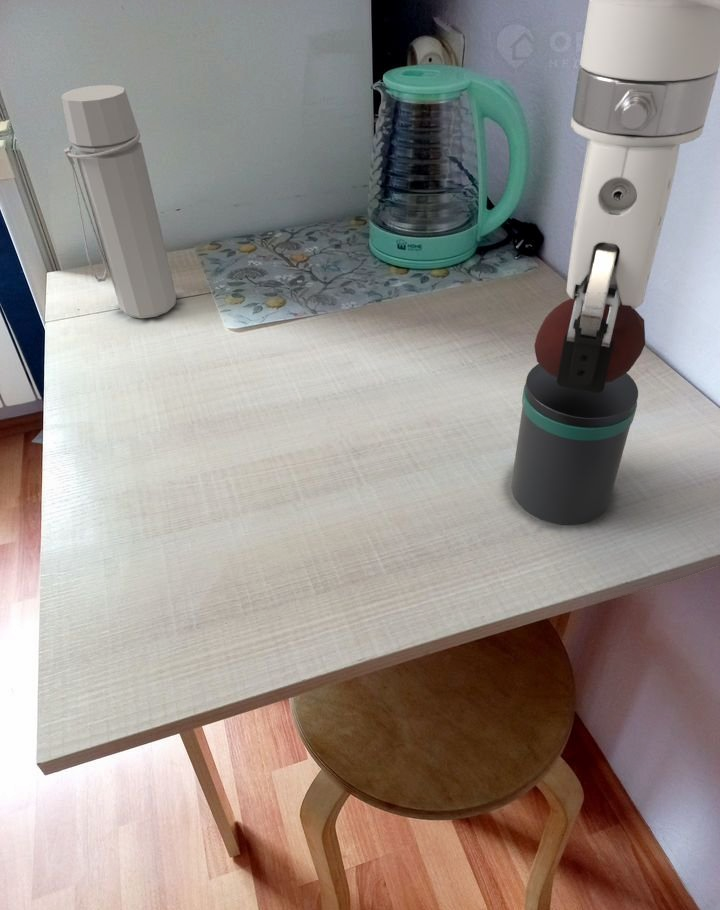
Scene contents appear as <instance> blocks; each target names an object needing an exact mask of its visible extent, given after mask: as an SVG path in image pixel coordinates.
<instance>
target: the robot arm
mask: <svg viewBox="0 0 720 910" xmlns="http://www.w3.org/2000/svg"><path fill="white" fill-rule="evenodd" d="M580 52H581V53H580V61H579V66H578V67H579V68H578V73H577V74H578V75H577V80H576V86H575V93H574V101H573V106H572V107H573V108H572V114H571V120H570V129H572V131H573V132H574V133H575V134H577V135H579V136H581V138H585V139H587V144H586V150H585V155H584V161H583V168H582V173H581V178H580V179H581V180H580V184H579V185H580V186H579V191H578V198H577V205H576V211H575V218H574V225H573V230H572V231H573V233H572V239H571V245H570V246H571V247H570V254H569V263H568V270H567V271H568V273H567V281H566V293H567V295H568V297H569V298H570V299H571V298H572V299H573V300H574V299H575V303H574V308H573V312H572V317H571V321H570V326H569V330H568V333H565V336H564V342H563V348H562V354H561V359H560V365H559V371H558V377H557V384H558V385H560V386H563V387H568V388H574V389H580V390H585V391H591V392H596V393H600V392H602V391H603V389H604V385H605V381H606V377H607V372H608V368H609V364H610V359H611V355H612V350H613V346H614V342H615V340H611V337H612V333H613V328H614V324H615V319H616V315H617V311H618V307H619V305H620V299H621V302H622V305H628V306H632V308H633V309H635V310H636V309H637V308H639V307H640V306H642V305H643V304H644V300H645V296H646V293H647V288H648V285H649V280H650V277H651V273H652V268H653V264H654V261H655V256H656V254H657V253H656V252H657V249H658V244H659V240H660V236H661V233H662V229H663V225H664V220H665V217H666V213H667V209H668V204H669V201H670V195H671V193H672V192H671V191H672V187H673V183H674V178H675V173H676V168H677V164H678V160H679V159H678V158H679V153H680V152H679V151H680V147H681V145H682V144H687V143H690V142H693V141H695V140H696V139H698V138H700V137H701V136H702V134H703V130H704V126H705V123H706V120H707V116H708V112H709V107H710V104H711V101H712V97H713V93H714V89H715V86H716V82H717V78H718V74H719V68H720V0H588V6H587V11H586V20H585V26H584V32H583V41H582V46H581V51H580ZM607 294H610V295H614V296H615V297H614V296H607ZM604 307H610V309H609V313H608V317H607V322H606V319H605V318H602V317H603V312H604ZM603 334H604V335H603Z"/></svg>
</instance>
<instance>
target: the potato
mask: <svg viewBox="0 0 720 910" xmlns="http://www.w3.org/2000/svg"><path fill="white" fill-rule="evenodd" d="M607 296H614V295H610V294H607ZM614 297H615V296H614ZM574 303H575V299H574V300H573V299H572V298H571V297H570V298H569V299H567V300H565V301H563V302H561V303H560V304H558V305H557V306H555V307H554V308H553V309H552V310H551V311H550V312H549V313H548V314H547V316H546V317H545V318H544V320H543V321H542V323H541V326H540V327H539V330H538V331H537V334H536V337H535V342H534V345H533V347H534V353H535V359H536V362H537V364H540V366H541V367H542V368H543V369H544V370H545V371H546V372H548V373H549V374H550V375H552V376H555V377H558V371H559V365H560V359H561V354H562V348H563V342H564V336H565V333H568V330H569V326H570V321H571V317H572V312H573V308H574ZM609 309H610V307H604V312H603V317H602V318H605V319H606V322H607V317H608V313H609ZM603 335H604V334H603ZM611 340H615V342H614V346H613V350H612V355H611V359H610V364H609V368H608V372H607V377H606V381H605V383H607V382H612V381H614V380H616V379H617V378H619V377H621V376H623V375H624V374H625V373H627V374H628V372H629V371H630V370H631V369H632V367H633V366H634V365H635V363H636V362H637V360H638V359H639V358H640V356H641V355H642V353H643V350H644V348H645V345H646V328H645V319H644V318H643V316H642V315H640V313H639V312H638V311H637V310H636V308H635V309H633V308H632V306H628V305H622V302H621V299H620V305H619V307H618V311H617V315H616V319H615V324H614V328H613V333H612V337H611Z"/></svg>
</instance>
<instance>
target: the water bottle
mask: <svg viewBox="0 0 720 910" xmlns="http://www.w3.org/2000/svg"><path fill="white" fill-rule="evenodd" d="M61 102H62V109H63V113H64V118H65V119H64V120H65V123H66V129H67V135H68V139H69V142H70V143H71V144H70V145H68V147H66V148H64V149H63V152H64V153H65V156H66V157H67V159H68V162H69V163H70V167H71V172H72V179H73V184H74V190H75V195H76V200H77V207H78V212H79V217H80V222H81V228H82V229H81V230H82V234H83V239H84V245H85V253H86V256H87V257H86V258H87V262H88V264H89V267H90V269H91V271H92V274H93V276H94V278H95V279H96V281H97V283H100V282H106V281H107V278H108V272H109V275H110V278H111V283H112V286H113V289H114V293H115V296H116V300H117V303H118V306H119V309H120V310H121V311H122V312H123V313H125V314H126V315H128V316H129V317H130V318H136V319H149V318H155V317H159V316H161V315H164V314H166V313H168V312H169V311H170V310H171V309H173V307H175V305H176V303H177V293H176V288H175V284H174V280H173V276H172V271H171V267H170V262H169V257H168V254H167V249H166V245H165V241H164V236H163V231H162V228H161V224H160V218H159V215H158V209H157V206H156V200H155V198H154V193H153V187H152V183H151V180H150V175H149V171H148V170H149V169H148V166H147V162H146V158H145V153H144V149H143V145H142V142H140V139H141V131H140V130H139V129H138V125H137V122H136V119H135V116H134V113H133V110H132V107H131V103H130V101H129V98H128V94H127V91H126V89H125V87H122V86H120V85H114V84H99V85H88V86H83V87H79V88H74V89H71V90H68V91H66V92H64V93H63V94H62V95H61ZM73 148H74V149H75V150H76V152H75V153H74V154H73V153H72V152H71V150H72V149H73ZM74 159H76V162H77V164H78V167H79V172H80V175H81V179H82V182H83V185H84V189H85V193H86V196H87V199H88V203H89V206H90V209H91V213H92V217H91V213H90V211H89V207H88V205H87V202H86V198H85V196H84V192H83V190H82V186H81V184H80V180H79V178H78V175H77V171H76V168H75V160H74ZM76 182H77V183H76ZM77 185H78V188H79V191H80V194H81V197H82V200H83V203H84V206H85V210H86V212H87V216H88V218H89V222H90V225H91V228H92V232H93V235H94V236H95V241H96V244H97V247H98V250H99V253H100V256H101V259H102V263H103V266H104V273H103V276H101V277H98V275H97V274H96V273H95V270H94V268H93V266H92V263H91V259H90V258H91V257H90V253H89V247H88V241H87V237H86V236H87V235H86V231H85V225H84V221H83V215H82V211H81V210H82V209H81V205H80V204H81V203H80V199H79V193H78V188H77ZM92 218H93V220H94V223H93V220H92ZM94 224H95V226H96V229H95V226H94ZM97 234H98V235H97Z"/></svg>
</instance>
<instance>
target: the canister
mask: <svg viewBox="0 0 720 910" xmlns="http://www.w3.org/2000/svg"><path fill="white" fill-rule="evenodd" d="M521 397H522V398H521V406H522V407H521V415H520V421H519V429H518V435H517V442H516V448H515V449H516V450H515V457H514V463H513V471H512V479H511V491H512V495H513V497H514V499H515V500H516V502H517V504H518V505H519V506H520V507H521V508H523V510H524V511H526V512H527V513H528V514H530V515H532V516H534V517H535V518H538V519H540V520H543V521H545V522H549V523H553V524H557V525H571V526H572V525H581V524H585V523H588V522H591V521H593V520H596V519H597V518H599V517H600V516H602V514H604V513H605V512H606V511H607V509H608V507H609V506H610V502H611V499H612V494H613V490H614V486H615V483H616V480H617V476H618V473H619V468H620V465H621V461H622V457H623V454H624V449H625V447H626V442H627V439H628V436H629V432H630V428H631V425H632V424H633V421H634V418H635V415H636V411H637V407H638V398H639V389H638V385H637V383H636V381H635V380H634V379H633V378H632V377H631V375H630V374H628V372H627V373H625V374H624V375H623V376H621V377H619V378H617V379H616V380H614V381H612V382H607V383H605V385H604V389H603V391H602V392H600V393H596V392H591V391H585V390H580V389H574V388H568V387H563V386H560V385H558V384H557V377H555V376H552V375H550V374H549V373H548V372H546V371H545V370H544V369H543V368H542V367H541V366H540V364H539V363H537V364H536V365H535V366H534V367H532V368H531V369H530V370H529V372H528V373H527V376H526V379H525V383H524V386H523V390H522V396H521Z"/></svg>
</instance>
